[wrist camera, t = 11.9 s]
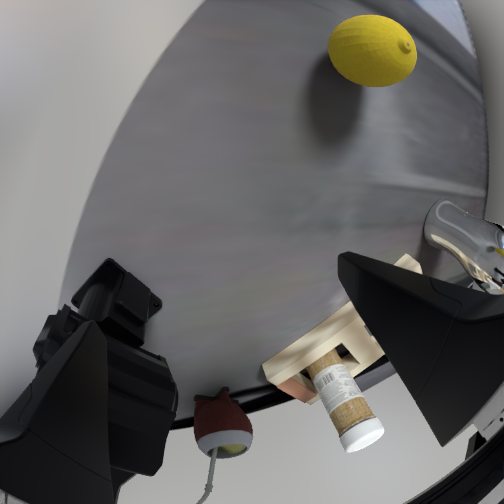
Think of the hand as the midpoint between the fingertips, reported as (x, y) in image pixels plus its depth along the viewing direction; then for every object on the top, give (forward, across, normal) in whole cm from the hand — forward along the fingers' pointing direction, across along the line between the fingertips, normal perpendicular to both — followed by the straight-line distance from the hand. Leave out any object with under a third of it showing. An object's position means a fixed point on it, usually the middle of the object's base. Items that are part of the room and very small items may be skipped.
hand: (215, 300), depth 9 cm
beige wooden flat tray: (+13, -14, +21) cm, 28 cm away
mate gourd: (+13, +6, +26) cm, 30 cm away
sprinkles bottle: (+13, -9, +23) cm, 28 cm away
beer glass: (+13, -26, +9) cm, 30 cm away
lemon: (+13, -13, -9) cm, 21 cm away
